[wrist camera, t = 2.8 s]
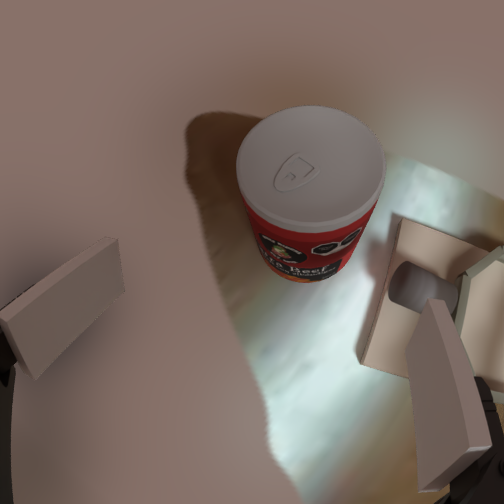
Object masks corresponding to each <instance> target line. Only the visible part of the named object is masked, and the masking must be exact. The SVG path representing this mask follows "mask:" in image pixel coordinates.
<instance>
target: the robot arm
mask: <svg viewBox="0 0 504 504" xmlns="http://www.w3.org/2000/svg"><path fill="white" fill-rule="evenodd" d="M123 292H125V289H124V282H123V276H122V269H121V262H120V254H119V246H118V240H117V239H113V238H108V237H104V238H103V239H101V240H99V241H98V242H96V243H95V244H93V245H92V246H90V247H89V248H87V249H86V250H84V251H83V252H81V253H80V254H78V255H77V256H75V257H74V258H72V259H71V260H69V261H68V262H66V263H65V264H63V265H62V266H60V267H59V268H58V269H56V270H55V271H53V272H52V273H51V274H49V275H48V276H46V277H45V278H43V279H42V280H41V281H39V282H38V283H37V284H34V285H32V286H31V287H29V288H28V289H27V290H25V291H24V293H22V294H20V295H19V296H17V298H16V299H13V300H12V301H11V302H9V303H8V304H7V305H6V306H4V307H3V308H2V309H1V310H0V504H14V503H13V493H12V479H11V416H12V403H13V392H14V383H15V375H16V371H15V367H14V364H15V363H16V362H17V361H18V363H19V365H20V367H21V369H22V371H23V372H24V373H25V374H26V375H28V376H29V377H31V378H32V379H34V380H36V379H37V378H38V377H39V376H40V375H41V373H42V372H43V371H44V370H45V369H46V368H47V367H48V366H49V365H50V364H51V363H52V362H53V361H54V360H55V359H56V358H57V357H58V356H59V355H60V354H61V353H62V352H63V351H64V350H65V349H66V348H67V346H69V345H70V344H71V343H72V342H73V341H74V340H75V339H76V338H77V337H78V336H79V335H80V334H81V333H82V332H83V331H84V330H85V329H86V328H87V327H88V326H89V325H90V324H91V323H92V322H93V321H94V320H95V319H96V318H97V317H98V316H99V315H100V314H101V313H102V312H103V311H104V310H105V309H107V308H108V307H109V306H110V305H111V304H112V303H113V302H114V301H115V300H116V299H117V298H118V297H119V296H120V295H121V294H122V293H123ZM405 356H406V362H407V368H408V375H409V382H410V389H411V396H412V405H413V414H414V423H415V435H416V448H417V467H418V492H432V491H440V490H441V489H442V488H444V487H445V486H446V485H448V484H449V483H450V492H449V493H448V494H446V495H445V496H443V497H442V498H440V499H439V500H438V501H436V502H435V503H434V504H439V503H440V504H504V434H503V431H502V427H501V423H500V420H499V416H498V413H497V412H496V410H497V409H496V406H495V403H494V402H493V396H492V393H491V390H490V388H489V386H488V385H487V384H486V382H485V381H484V379H483V378H482V377H477V376H473V373H472V370H471V367H470V364H469V362H468V359H467V356H466V353H465V351H464V348H463V345H462V343H461V340H460V337H459V335H458V332H457V330H456V327H455V325H454V322H453V320H452V318H451V315H450V313H449V311H448V308H447V306H446V304H445V301H444V300H438V299H432V298H427V301H426V303H425V306H424V308H423V311H422V313H421V316H420V318H419V320H418V323H417V325H416V327H415V329H414V332H413V334H412V336H411V338H410V340H409V343H408V345H407V347H406V349H405Z"/></svg>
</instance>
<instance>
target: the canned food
mask: <svg viewBox="0 0 504 504" xmlns="http://www.w3.org/2000/svg"><path fill="white" fill-rule="evenodd" d="M236 172H237V181H238V185H239V188H240V192H241V195H242V199H243V202H244V205H245V208H246V211H247V214H248V217H249V220H250V223H251V226H252V228H253V231H254V234H255V237H256V240H257V243H258V246H259V249H260V252H261V255H262V257H263V259H264V260H265V262H266V264H267V265H268V266H269V267H270V268H271V269H272V270H273V271H274V272H275V273H277V274H278V275H279V276H281V277H283V278H286V279H288V280H291V281H295V282H302V283H311V282H317V281H321V280H324V279H326V278H329V277H331V276H332V275H334V274H336V273H337V272H338V271H339V270H340V269H342V268H343V267H344V266H345V264H346V263H347V262H348V260H349V259H350V257H351V255H352V253H353V251H354V249H355V247H356V245H357V243H358V241H359V239H360V237H361V235H362V233H363V231H364V229H365V227H366V225H367V223H368V221H369V219H370V217H371V214H372V212H373V210H374V208H375V206H376V203H377V201H378V198H379V196H380V193H381V191H382V188H383V185H384V180H385V173H386V160H385V154H384V151H383V149H382V146H381V144H380V142H379V140H378V139H377V137H376V136H375V134H374V133H373V132H372V131H371V130H370V129H369V128H368V126H367V125H365V124H364V123H363V122H361V121H360V120H359V119H358V118H356V117H354V116H352V115H350V114H348V113H346V112H344V111H341V110H338V109H335V108H332V107H326V106H320V105H304V106H295V107H291V108H287V109H284V110H280V111H278V112H276V113H274V114H271V115H269V116H268V117H266V118H265V119H263V120H262V121H260V122H259V123H258V124H257V125H256V126H254V127H253V128H252V129H251V130H250V132H249V133H248V134H247V136H246V137H245V138H244V140H243V142H242V144H241V146H240V148H239V151H238V155H237V160H236Z"/></svg>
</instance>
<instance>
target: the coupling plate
mask: <svg viewBox="0 0 504 504" xmlns="http://www.w3.org/2000/svg"><path fill="white" fill-rule="evenodd" d="M427 298H432V299H438V300H444V301H445V304H446V306H447V308H448V311H449V313H450V315H451V318H452V320H453V322H454V325H455V327H456V330H457V332H458V335H459V337H460V340H461V343H462V345H463V348H464V351H465V353H466V356H467V359H468V362H469V364H470V367H471V370H472V373H473V376H477V377H482V378H483V379H484V381H485V382H486V384H487V385H488V386H489V388H490V390H491V393H492V396H493V402H494V403H499V404H504V245H503V246H498V247H497V248H496V249H494V250H493V251H491V252H488V251H486V250H483V249H481V248H479V247H476V246H474V245H472V244H469V243H467V242H464V241H462V240H459V239H457V238H454V237H452V236H449V235H447V234H444V233H442V232H439V231H437V230H434V229H431V228H429V227H426V226H423V225H421V224H418V223H415V222H412V221H410V220H407V219H404V218H402V220H401V221H400V223H399V225H398V230H397V235H396V239H395V244H394V248H393V253H392V257H391V261H390V265H389V269H388V273H387V277H386V281H385V285H384V288H383V292H382V296H381V299H380V303H379V306H378V310H377V313H376V316H375V320H374V323H373V326H372V329H371V333H370V336H369V339H368V342H367V345H366V348H365V351H364V354H363V356H362V359H361V362H360V365H364V366H367V367H370V368H374V369H377V370H380V371H384V372H387V373H390V374H394V375H397V376H401V377H404V378H408V379H409V375H408V368H407V362H406V356H405V349H406V347H407V345H408V343H409V340H410V338H411V336H412V334H413V332H414V329H415V327H416V325H417V323H418V320H419V318H420V316H421V313H422V311H423V308H424V306H425V303H426V301H427Z"/></svg>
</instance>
